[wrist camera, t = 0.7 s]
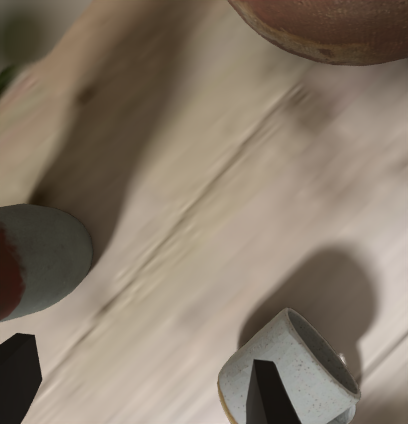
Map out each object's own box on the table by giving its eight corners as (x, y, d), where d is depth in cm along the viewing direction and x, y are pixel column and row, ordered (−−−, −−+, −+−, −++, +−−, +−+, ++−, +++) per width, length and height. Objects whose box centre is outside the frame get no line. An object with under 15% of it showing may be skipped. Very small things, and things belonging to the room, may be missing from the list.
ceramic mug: (215, 356, 29) (202, 411, 22) (281, 294, 28) (292, 328, 21) (302, 447, 29) (320, 536, 21) (374, 386, 28) (420, 457, 20)
